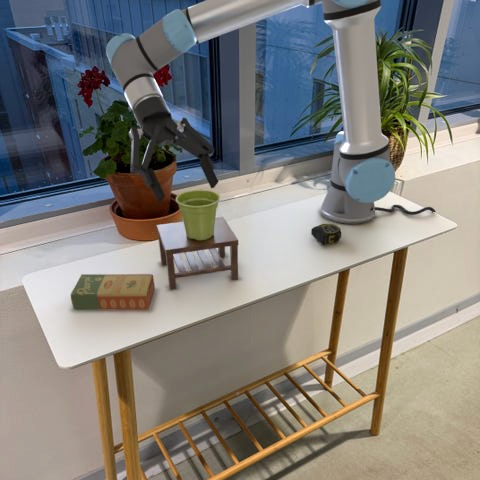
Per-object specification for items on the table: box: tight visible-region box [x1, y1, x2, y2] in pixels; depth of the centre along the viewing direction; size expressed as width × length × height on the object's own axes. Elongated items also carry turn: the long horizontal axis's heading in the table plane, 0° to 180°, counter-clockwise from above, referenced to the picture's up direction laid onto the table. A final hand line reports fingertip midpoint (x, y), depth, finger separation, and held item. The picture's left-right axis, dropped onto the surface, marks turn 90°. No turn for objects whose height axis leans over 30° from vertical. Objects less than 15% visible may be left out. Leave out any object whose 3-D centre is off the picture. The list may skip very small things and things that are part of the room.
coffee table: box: [156, 216, 239, 291], centre depth 112 cm, size 16×13×10 cm
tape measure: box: [310, 223, 342, 246], centre depth 126 cm, size 7×7×4 cm
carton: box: [70, 273, 156, 311], centre depth 104 cm, size 8×16×4 cm, turn 89°
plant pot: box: [175, 189, 221, 240], centre depth 106 cm, size 9×9×9 cm
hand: (189, 192), depth 105 cm, fingers open, 13 cm apart
